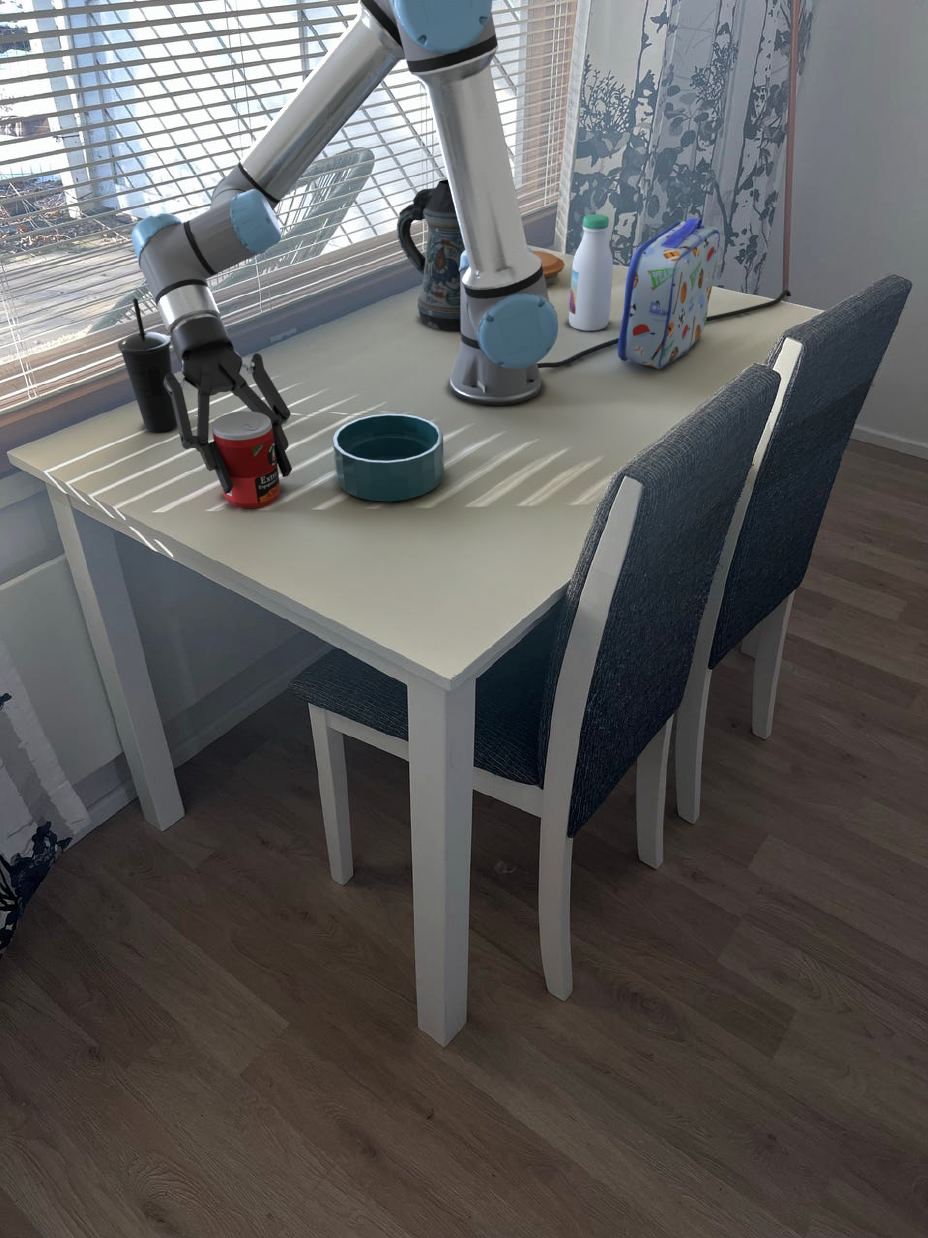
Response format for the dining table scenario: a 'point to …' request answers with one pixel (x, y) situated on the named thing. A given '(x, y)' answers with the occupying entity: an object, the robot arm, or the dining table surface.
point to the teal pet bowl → (388, 457)
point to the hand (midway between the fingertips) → (258, 481)
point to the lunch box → (668, 293)
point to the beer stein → (436, 255)
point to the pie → (550, 266)
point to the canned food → (248, 457)
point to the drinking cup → (149, 375)
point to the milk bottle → (591, 277)
